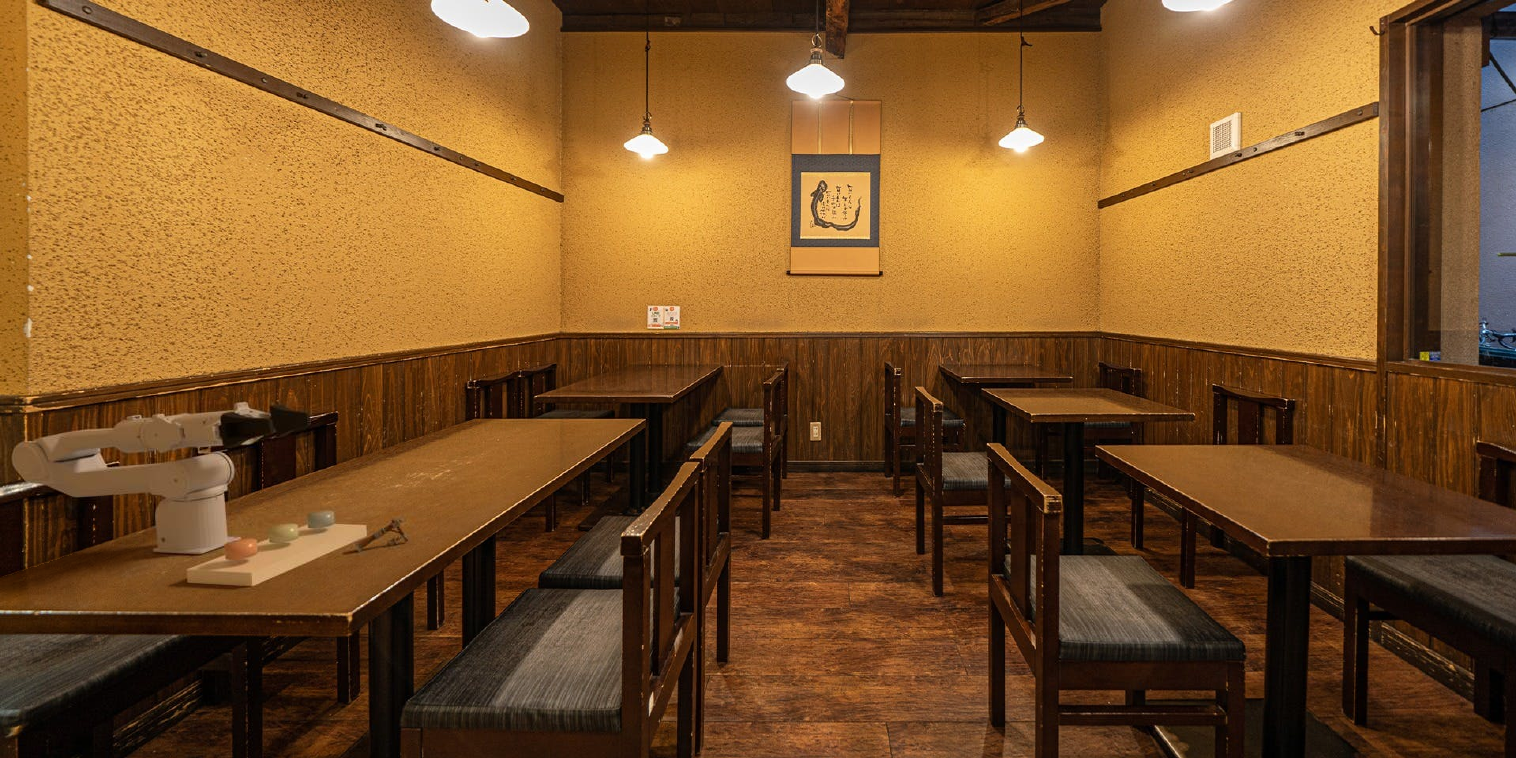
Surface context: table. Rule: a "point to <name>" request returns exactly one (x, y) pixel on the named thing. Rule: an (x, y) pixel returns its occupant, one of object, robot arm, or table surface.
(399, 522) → the wooden post with brackets
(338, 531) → the button panel
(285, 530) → the sage button
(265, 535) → the table surface
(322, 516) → the slate button
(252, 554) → the orange rounded dome
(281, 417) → the robot arm
